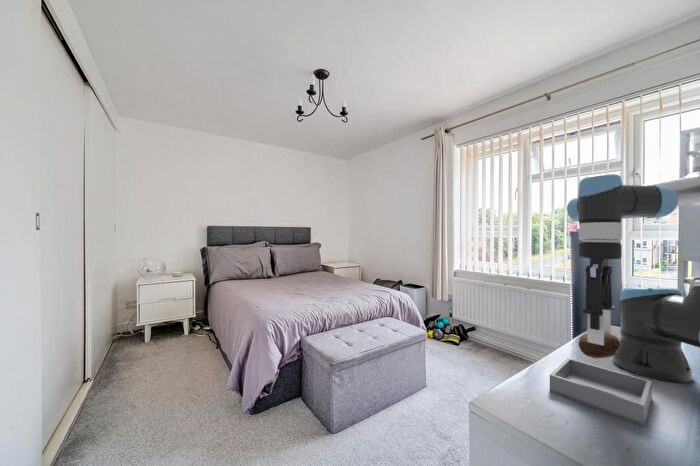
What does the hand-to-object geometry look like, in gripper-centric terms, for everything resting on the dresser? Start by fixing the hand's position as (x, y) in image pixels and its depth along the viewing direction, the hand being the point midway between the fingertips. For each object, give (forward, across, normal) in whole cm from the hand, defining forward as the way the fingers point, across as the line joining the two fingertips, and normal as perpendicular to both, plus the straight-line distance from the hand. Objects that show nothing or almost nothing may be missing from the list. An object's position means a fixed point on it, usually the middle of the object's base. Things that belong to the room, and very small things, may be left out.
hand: (599, 339), depth 64 cm
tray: (+13, 0, 0) cm, 13 cm away
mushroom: (+4, 0, 0) cm, 4 cm away
